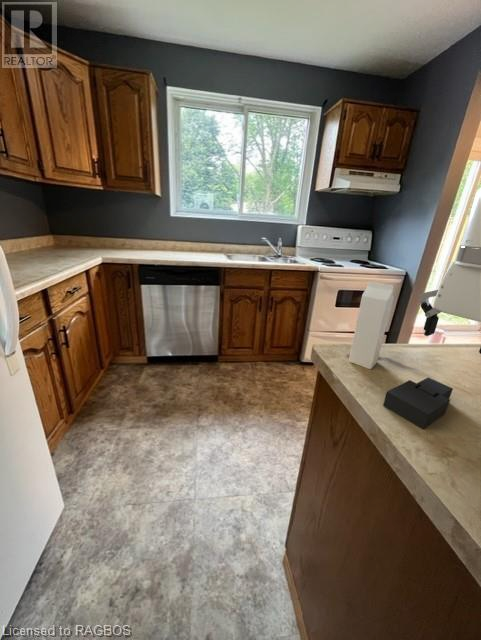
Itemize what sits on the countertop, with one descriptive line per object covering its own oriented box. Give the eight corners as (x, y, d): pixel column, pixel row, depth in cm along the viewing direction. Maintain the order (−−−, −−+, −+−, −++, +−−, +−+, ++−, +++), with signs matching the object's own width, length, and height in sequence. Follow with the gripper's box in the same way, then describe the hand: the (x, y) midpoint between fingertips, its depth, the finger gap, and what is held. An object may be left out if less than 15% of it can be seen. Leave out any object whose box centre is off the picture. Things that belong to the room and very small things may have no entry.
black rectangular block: (423, 390, 63) (428, 377, 62) (448, 401, 59) (453, 388, 58) (408, 398, 59) (412, 385, 58) (433, 412, 55) (438, 397, 54)
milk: (370, 369, 71) (391, 287, 63) (347, 361, 74) (364, 282, 67) (377, 361, 75) (397, 283, 67) (355, 354, 79) (371, 279, 71)
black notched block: (405, 393, 61) (409, 379, 60) (445, 413, 55) (450, 399, 54) (382, 405, 57) (386, 391, 56) (423, 429, 50) (428, 414, 49)
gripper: (557, 263, 44) (517, 356, 50) (439, 251, 58) (419, 325, 64) (544, 266, 41) (502, 366, 47) (422, 253, 54) (402, 331, 60)
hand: (454, 342), depth 55 cm, fingers open, 9 cm apart
